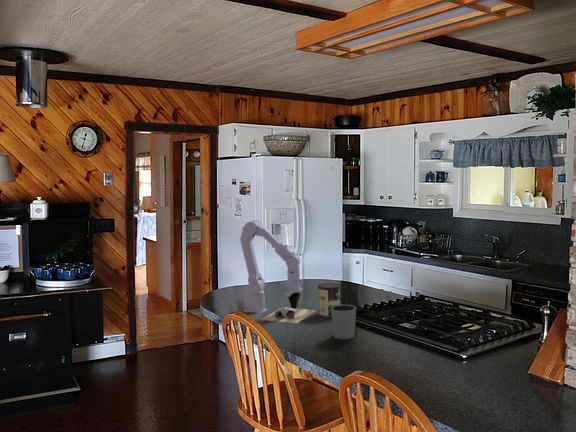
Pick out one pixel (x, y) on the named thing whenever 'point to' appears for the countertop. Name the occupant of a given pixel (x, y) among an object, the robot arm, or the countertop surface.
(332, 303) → the coffee can
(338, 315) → the grey cup
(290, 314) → the c ring
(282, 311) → the piston post
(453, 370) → the countertop surface
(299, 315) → the board
